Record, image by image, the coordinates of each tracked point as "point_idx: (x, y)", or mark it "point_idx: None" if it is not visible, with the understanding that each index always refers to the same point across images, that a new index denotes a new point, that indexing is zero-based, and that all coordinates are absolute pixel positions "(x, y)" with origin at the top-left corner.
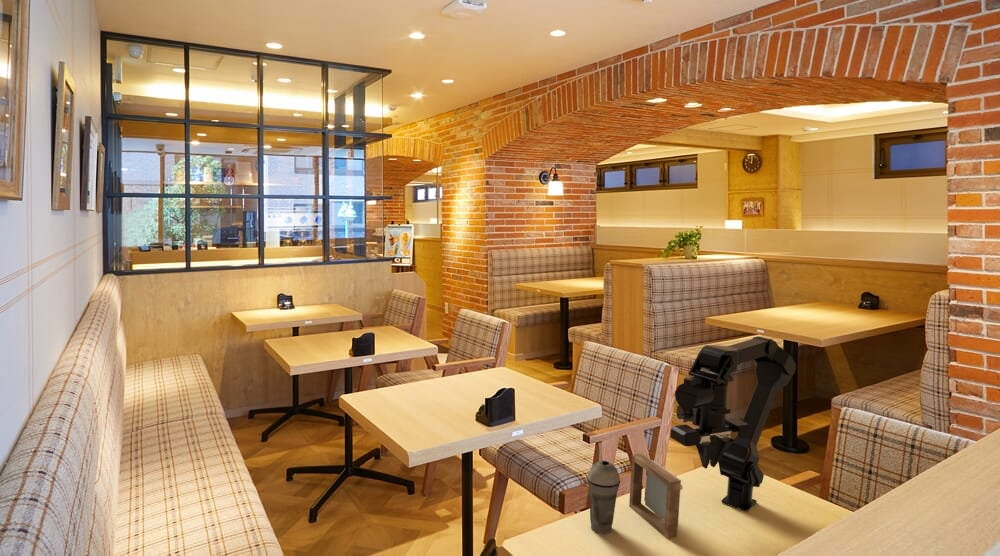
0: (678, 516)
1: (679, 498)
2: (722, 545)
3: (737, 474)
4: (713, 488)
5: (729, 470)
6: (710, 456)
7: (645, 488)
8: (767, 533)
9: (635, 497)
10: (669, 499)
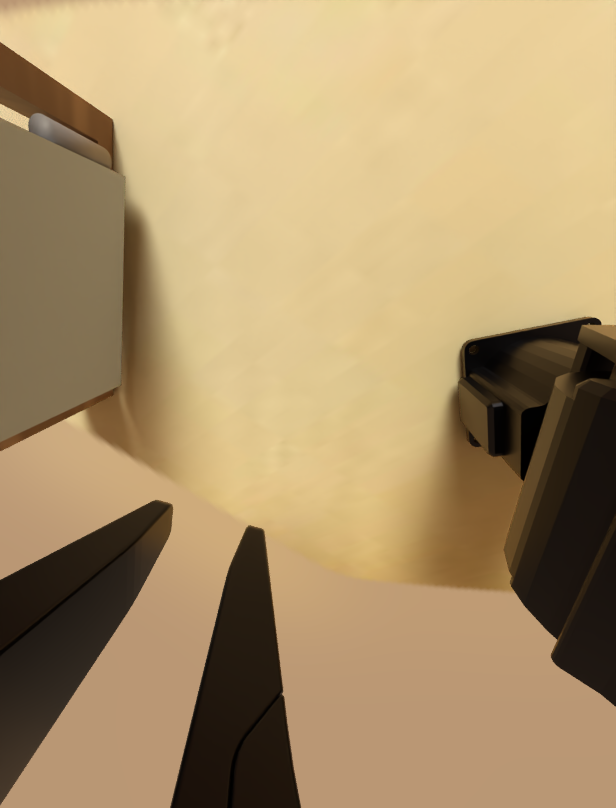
0: (89, 399)
1: (10, 436)
2: (208, 492)
3: (513, 518)
4: (597, 219)
5: (529, 468)
6: (32, 747)
7: (30, 123)
8: (380, 534)
9: (30, 113)
10: None
